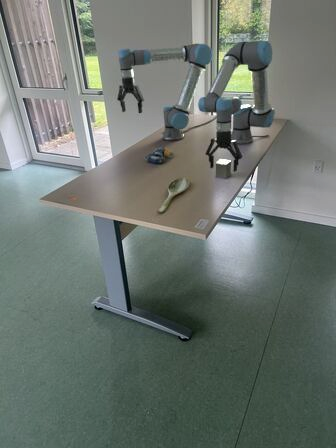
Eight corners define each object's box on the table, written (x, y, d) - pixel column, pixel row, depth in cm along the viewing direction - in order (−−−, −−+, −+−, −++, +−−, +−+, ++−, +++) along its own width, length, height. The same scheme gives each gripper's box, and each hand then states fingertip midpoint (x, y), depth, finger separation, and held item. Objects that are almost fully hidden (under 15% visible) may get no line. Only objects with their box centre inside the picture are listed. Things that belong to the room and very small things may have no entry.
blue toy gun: (178, 153, 218) (158, 152, 224) (177, 147, 215) (157, 146, 222) (164, 166, 202) (142, 164, 209) (163, 159, 200) (141, 157, 206)
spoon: (171, 216, 152) (170, 213, 151) (149, 214, 155) (149, 210, 154) (193, 181, 178) (193, 177, 177) (174, 179, 182) (174, 176, 180)
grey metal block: (215, 176, 182) (215, 163, 178) (220, 172, 187) (220, 158, 183) (226, 178, 179) (226, 164, 175) (230, 174, 184) (231, 160, 180)
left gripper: (108, 78, 211) (113, 112, 222) (140, 78, 198) (144, 114, 209) (116, 76, 216) (121, 109, 227) (147, 76, 203) (151, 112, 214)
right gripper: (198, 130, 174) (199, 168, 184) (244, 134, 161) (242, 175, 172) (205, 126, 179) (205, 163, 190) (249, 130, 166) (247, 170, 177)
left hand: (132, 112), depth 218 cm, fingers open, 13 cm apart
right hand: (223, 169), depth 181 cm, fingers open, 13 cm apart
